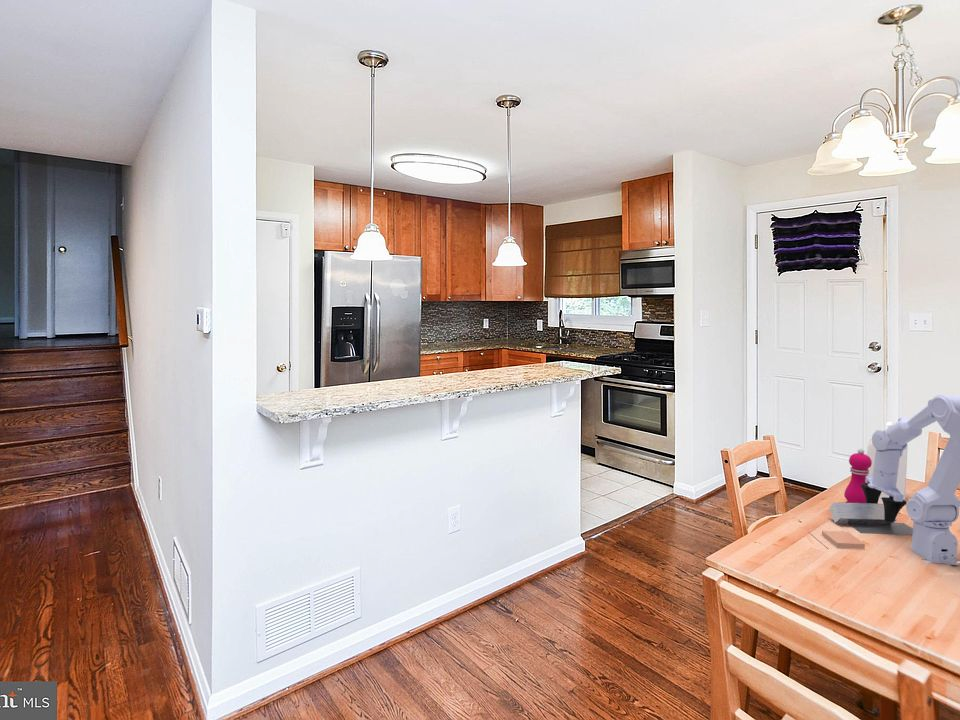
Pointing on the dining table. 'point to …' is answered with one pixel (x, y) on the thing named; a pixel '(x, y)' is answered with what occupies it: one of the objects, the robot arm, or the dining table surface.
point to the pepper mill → (857, 477)
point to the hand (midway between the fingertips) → (880, 514)
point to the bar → (858, 513)
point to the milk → (901, 469)
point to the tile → (843, 540)
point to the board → (884, 529)
